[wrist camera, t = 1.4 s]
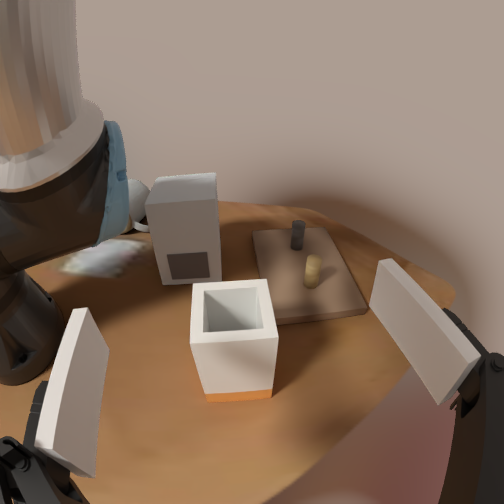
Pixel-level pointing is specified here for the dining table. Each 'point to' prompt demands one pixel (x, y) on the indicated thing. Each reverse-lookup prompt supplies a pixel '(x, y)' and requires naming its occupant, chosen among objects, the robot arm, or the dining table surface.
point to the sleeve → (234, 339)
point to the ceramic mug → (137, 205)
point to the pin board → (294, 272)
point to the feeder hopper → (185, 228)
